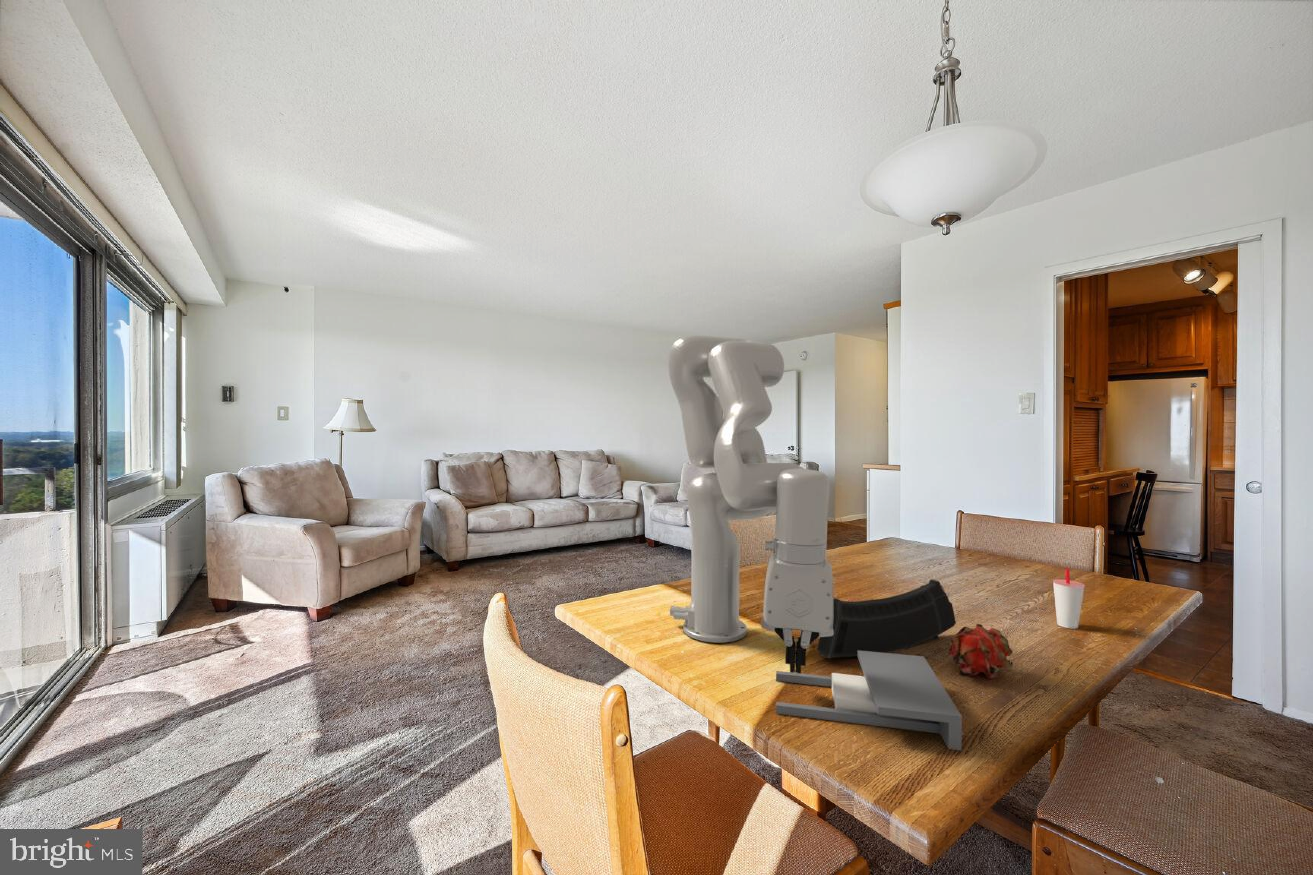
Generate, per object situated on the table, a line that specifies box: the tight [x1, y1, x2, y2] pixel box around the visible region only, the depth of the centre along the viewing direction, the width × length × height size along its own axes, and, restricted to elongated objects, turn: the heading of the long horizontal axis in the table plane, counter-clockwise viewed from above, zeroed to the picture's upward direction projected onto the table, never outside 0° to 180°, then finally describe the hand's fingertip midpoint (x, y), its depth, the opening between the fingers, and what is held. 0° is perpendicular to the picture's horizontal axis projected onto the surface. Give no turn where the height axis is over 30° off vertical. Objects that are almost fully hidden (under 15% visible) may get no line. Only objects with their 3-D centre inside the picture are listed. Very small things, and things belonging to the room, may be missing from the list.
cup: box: [1052, 568, 1086, 630], centre depth 110 cm, size 5×5×12 cm
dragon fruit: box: [948, 623, 1014, 680], centre depth 89 cm, size 8×8×12 cm
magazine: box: [816, 578, 957, 659], centre depth 99 cm, size 18×3×31 cm
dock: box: [775, 650, 963, 751], centre depth 79 cm, size 23×18×4 cm
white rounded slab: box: [831, 672, 878, 714], centre depth 78 cm, size 11×8×2 cm
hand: (795, 668), depth 82 cm, fingers closed
